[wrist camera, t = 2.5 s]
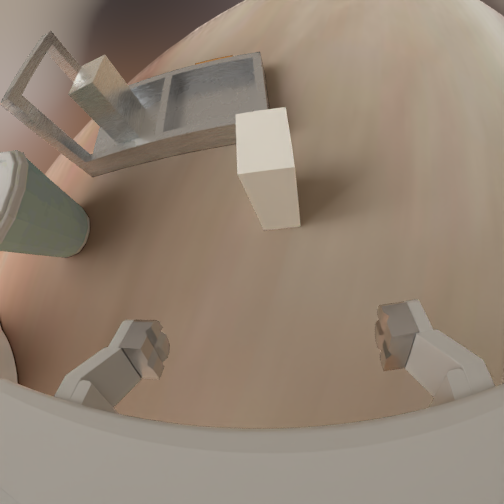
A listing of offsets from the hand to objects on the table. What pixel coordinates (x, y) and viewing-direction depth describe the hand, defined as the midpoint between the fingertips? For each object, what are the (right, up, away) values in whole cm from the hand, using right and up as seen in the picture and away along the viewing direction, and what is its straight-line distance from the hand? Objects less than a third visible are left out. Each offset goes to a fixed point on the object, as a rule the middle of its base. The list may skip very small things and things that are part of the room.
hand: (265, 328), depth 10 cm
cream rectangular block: (+2, +7, +18) cm, 20 cm away
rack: (-10, +20, +24) cm, 32 cm away
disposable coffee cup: (-23, +5, +23) cm, 33 cm away
